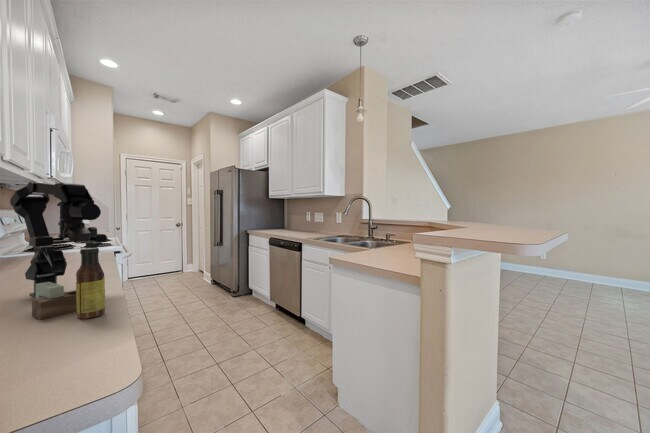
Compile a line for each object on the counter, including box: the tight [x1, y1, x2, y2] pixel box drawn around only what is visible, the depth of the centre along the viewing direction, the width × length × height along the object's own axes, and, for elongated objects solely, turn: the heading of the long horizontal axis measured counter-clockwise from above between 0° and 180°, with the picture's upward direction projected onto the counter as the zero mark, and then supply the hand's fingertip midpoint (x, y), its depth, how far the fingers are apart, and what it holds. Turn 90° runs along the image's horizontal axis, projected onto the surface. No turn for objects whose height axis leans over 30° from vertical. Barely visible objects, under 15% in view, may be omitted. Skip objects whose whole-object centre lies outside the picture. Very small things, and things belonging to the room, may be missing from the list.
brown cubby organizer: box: [31, 289, 77, 321], centre depth 79 cm, size 6×12×5 cm, turn 154°
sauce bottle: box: [75, 247, 106, 320], centre depth 76 cm, size 6×6×20 cm
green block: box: [35, 282, 65, 299], centre depth 79 cm, size 10×3×8 cm, turn 64°
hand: (71, 264), depth 90 cm, fingers open, 9 cm apart
